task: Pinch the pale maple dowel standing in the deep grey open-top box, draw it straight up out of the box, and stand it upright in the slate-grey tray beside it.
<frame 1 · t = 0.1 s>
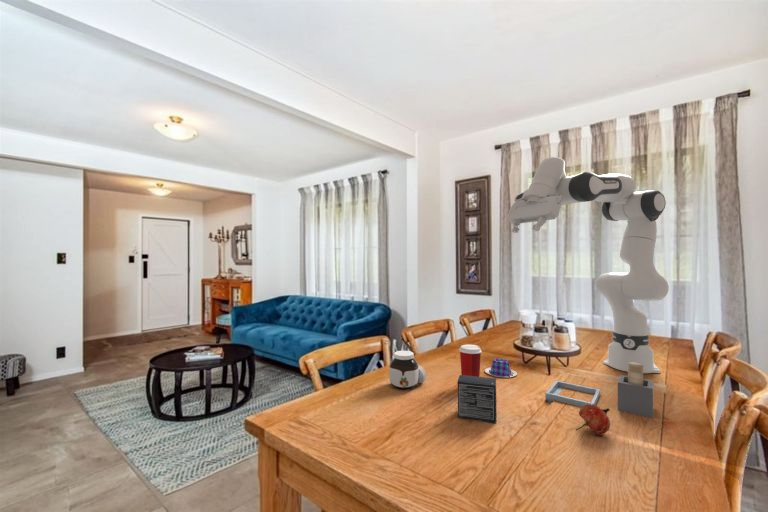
hand: (524, 231, 118), 54 cm above the table, tool tilted 30°, fingers open, 8 cm apart
small box: (477, 416, 97), on the table
spread jar: (408, 385, 121), on the table
paper cup: (470, 387, 119), on the table
maple dowel: (635, 408, 99), point 1 cm above the table, touching grey open-top box
pudding: (500, 374, 133), on the table
pomegranate: (592, 433, 88), on the table
grey open-top box: (635, 412, 99), on the table
slate tray: (573, 399, 108), on the table
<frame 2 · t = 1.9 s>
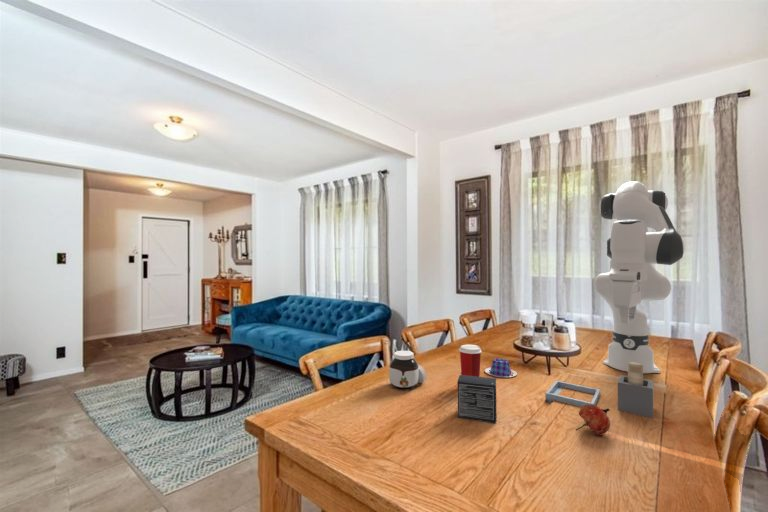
hand: (628, 321, 100), 26 cm above the table, tool pointing down, fingers open, 8 cm apart
nothing on the table moved.
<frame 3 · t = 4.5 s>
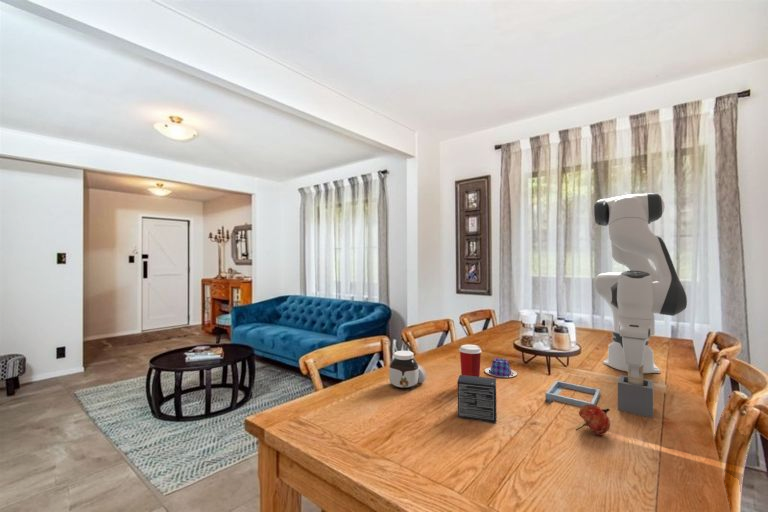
hand: (635, 374, 99), 11 cm above the table, tool pointing down, fingers closed on maple dowel, 4 cm apart
maple dowel: (635, 408, 99), point 1 cm above the table, touching grey open-top box, gripper
everything else where it was.
when the fingers open (12 cm above the table, at t = 12.4 s): maple dowel drops 1 cm, resting on slate tray.
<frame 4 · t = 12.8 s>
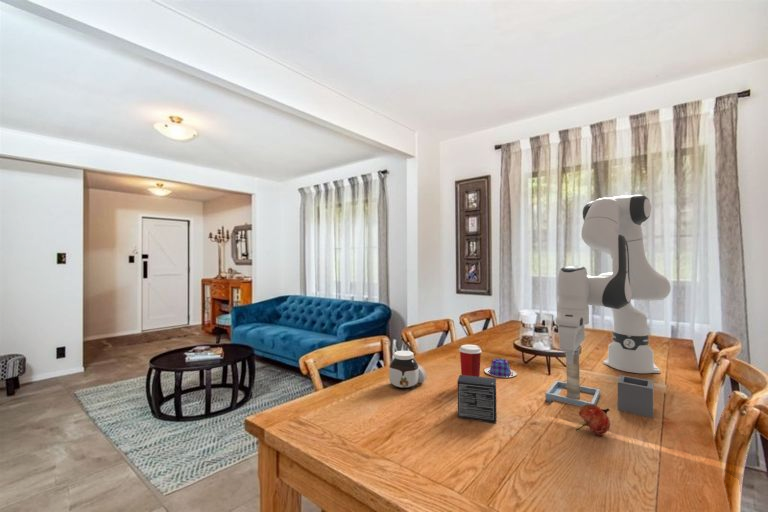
hand: (573, 360, 109), 12 cm above the table, tool pointing down, fingers open, 8 cm apart
maple dowel: (573, 396, 108), point 1 cm above the table, touching slate tray
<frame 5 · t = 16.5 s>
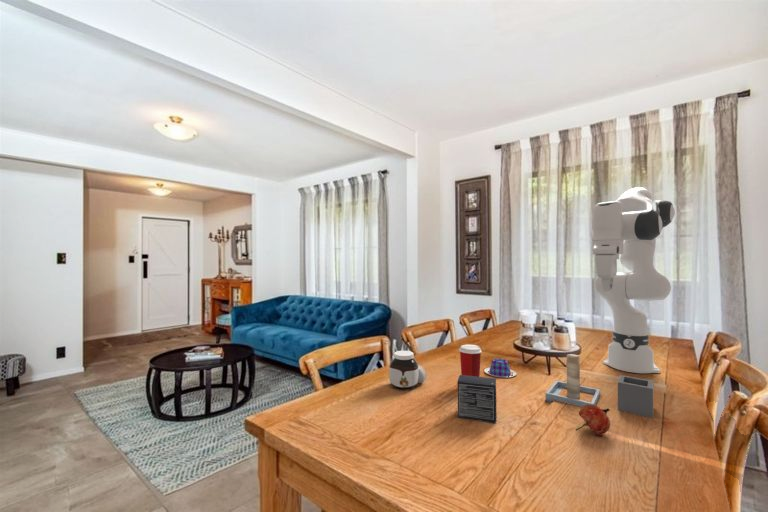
hand: (607, 290, 114), 34 cm above the table, tool pointing down, fingers open, 8 cm apart
nothing on the table moved.
at the end: maple dowel inside the target area on the slate tray (0.1 cm from its centre), point 0.8 cm above the slate tray's base; maple dowel tilted 0°; the gripper is holding nothing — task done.
